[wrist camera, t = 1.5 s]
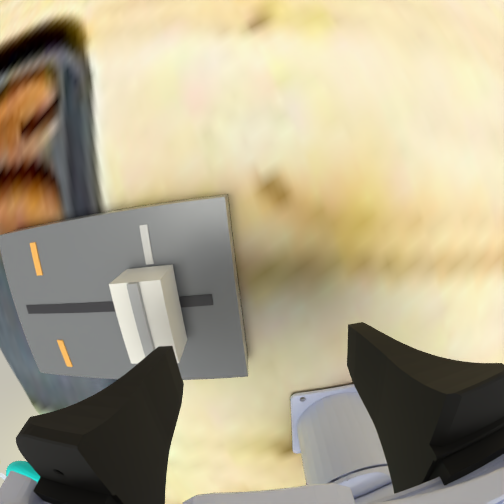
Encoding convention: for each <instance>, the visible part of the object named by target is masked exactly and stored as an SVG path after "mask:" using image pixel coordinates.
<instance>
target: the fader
mask: <svg viewBox="0 0 504 504" xmlns="http://www.w3.org/2000/svg"><path fill="white" fill-rule="evenodd" d="M109 287H110V291H111V296H112V300H113V303H114V307H115V311H116V315H117V318H118V322H119V326H120V329H121V332H122V336H123V339H124V343H125V346H126V349H127V352H128V355H129V358H130V361H131V364H138V363H139V362H140V361H142V360H143V359H144V358H145V357H146V356H147V355H149V354H150V353H151V352H152V351H153V350H155V349H156V348H157V347H159V346H173V350H174V353H175V357H176V360H177V363H179V362H180V359H181V356H182V353H183V350H184V347H185V345H186V342H187V335H186V330H185V326H184V321H183V316H182V311H181V306H180V301H179V296H178V291H177V285H176V280H175V274H174V269H173V264H172V265H162V266H152V267H142V268H132V269H126V270H125V271H124V272H123V273H122V274H120V275H119V276H118V277H117V278H116V279H114V280H113V281H112V282H111V283H110V284H109Z"/></svg>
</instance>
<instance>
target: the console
mask: <svg viewBox="0 0 504 504" xmlns="http://www.w3.org/2000/svg"><path fill="white" fill-rule="evenodd" d="M0 250H1V255H2V259H3V264H4V268H5V272H6V276H7V280H8V283H9V287H10V291H11V294H12V297H13V301H14V304H15V307H16V310H17V313H18V316H19V319H20V322H21V325H22V328H23V331H24V334H25V336H26V339H27V342H28V344H29V347H30V349H31V352H32V354H33V357H34V359H35V361H36V364H37V366H38V368H39V370H40V373H48V374H57V375H67V376H77V377H90V378H106V379H119V378H121V377H122V376H123V375H125V374H126V373H127V372H128V371H130V370H131V369H132V368H133V367H135V366H136V365H137V364H131V361H130V358H129V355H128V352H127V349H126V346H125V343H124V339H123V336H122V332H121V329H120V326H119V322H118V318H117V315H116V311H115V307H114V303H113V300H112V296H111V291H110V287H109V284H110V283H111V282H112V281H113V280H114V279H116V278H117V277H118V276H119V275H120V274H122V273H123V272H124V271H125V270H126V269H132V268H142V267H152V266H162V265H172V264H173V269H174V274H175V280H176V285H177V291H178V296H179V301H180V306H181V311H182V316H183V321H184V326H185V330H186V335H187V342H186V345H185V347H184V350H183V353H182V356H181V359H180V362H179V363H177V364H178V367H179V371H180V374H181V377H182V380H191V379H215V378H232V377H245V376H248V354H247V347H246V339H245V332H244V324H243V316H242V308H241V301H240V293H239V285H238V277H237V269H236V260H235V252H234V244H233V235H232V227H231V218H230V210H229V201H228V194H227V195H218V196H210V197H202V198H194V199H186V200H179V201H172V202H165V203H158V204H151V205H145V206H138V207H132V208H126V209H120V210H114V211H108V212H102V213H97V214H91V215H86V216H81V217H75V218H70V219H65V220H60V221H55V222H50V223H45V224H41V225H36V226H31V227H27V228H22V229H18V230H14V231H11V232H8V233H5V234H2V235H0Z"/></svg>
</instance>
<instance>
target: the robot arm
mask: <svg viewBox="0 0 504 504" xmlns="http://www.w3.org/2000/svg"><path fill="white" fill-rule="evenodd" d="M347 366H348V369H349V372H350V375H351V378H352V381H353V384H351V385H346V386H340V387H335V388H329V389H323V390H316V391H309V392H302V393H295V394H293V395H292V396H291V398H290V402H291V423H292V448H293V452H294V453H301V456H302V462H303V467H304V473H305V479H306V485H305V486H299V487H291V488H284V489H275V490H264V491H252V492H232V493H210V494H202V495H196V496H194V497H192V498H190V499H188V500H187V501H185V502H183V504H504V365H503V364H502V363H471V362H462V361H456V360H451V359H446V358H442V357H438V356H434V355H431V354H428V353H425V352H422V351H419V350H417V349H414V348H412V347H410V346H407V345H405V344H403V343H401V342H399V341H397V340H395V339H393V338H391V337H389V336H387V335H385V334H384V333H382V332H380V331H378V330H376V329H374V328H373V327H371V326H369V325H367V324H365V323H363V322H361V323H356V324H350V325H348V356H347ZM183 385H184V384H183V380H182V377H181V374H180V371H179V367H178V364H177V360H176V357H175V353H174V350H173V346H159V347H157V348H156V349H155V350H153V351H152V352H151V353H150V354H149V355H147V356H146V357H145V358H144V359H143V360H142V361H140V362H139V363H138V364H137V365H136V366H135V367H133V368H132V369H131V370H130V371H128V372H127V373H126V374H125V375H123V376H122V377H121V378H119V379H118V380H117V381H115V382H114V383H113V384H111V385H110V386H108V387H107V388H105V389H103V390H102V391H100V392H98V393H97V394H95V395H93V396H91V397H89V398H87V399H85V400H83V401H81V402H78V403H76V404H74V405H71V406H69V407H66V408H63V409H60V410H57V411H54V412H50V413H46V414H42V415H37V416H33V417H30V418H29V419H28V421H27V422H26V424H25V425H24V427H23V428H22V430H21V431H20V433H19V434H18V436H17V437H16V443H17V446H18V448H19V450H20V452H21V453H22V455H23V456H24V458H25V459H26V460H27V461H28V463H29V464H30V465H31V466H32V468H33V469H34V470H35V471H36V472H37V473H38V475H39V476H40V479H39V481H38V483H37V482H36V481H35V480H33V479H31V478H29V477H27V476H24V475H22V474H19V473H17V472H14V471H10V473H9V474H8V476H7V478H6V479H5V481H4V483H3V484H2V486H1V488H0V504H165V485H166V473H167V464H168V456H169V450H170V445H171V441H172V437H173V433H174V430H175V426H176V422H177V419H178V415H179V411H180V407H181V403H182V395H183ZM302 397H305V398H303V399H300V398H302Z"/></svg>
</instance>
